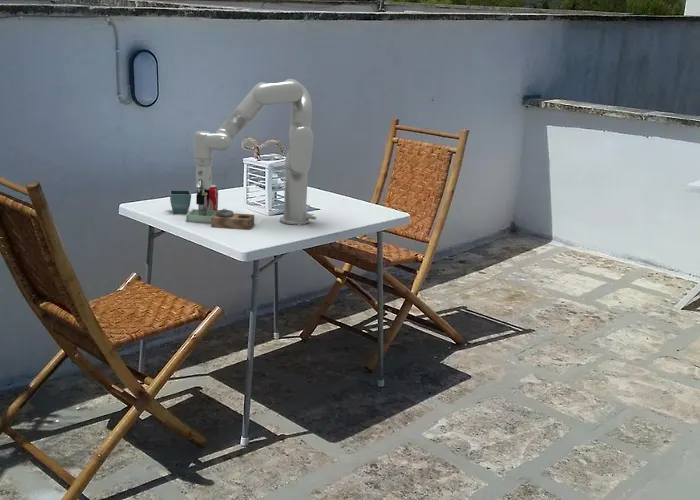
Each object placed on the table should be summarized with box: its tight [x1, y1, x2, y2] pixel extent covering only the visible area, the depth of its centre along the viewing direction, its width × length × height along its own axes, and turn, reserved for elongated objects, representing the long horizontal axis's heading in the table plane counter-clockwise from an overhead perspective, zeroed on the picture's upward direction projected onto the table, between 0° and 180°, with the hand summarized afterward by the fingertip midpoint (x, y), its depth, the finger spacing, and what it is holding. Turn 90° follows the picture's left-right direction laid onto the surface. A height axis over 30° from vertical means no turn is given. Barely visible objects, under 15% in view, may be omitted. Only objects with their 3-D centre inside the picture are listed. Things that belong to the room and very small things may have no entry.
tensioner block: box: [210, 208, 255, 231], centre depth 330 cm, size 16×10×7 cm, turn 87°
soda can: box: [207, 184, 219, 211], centre depth 349 cm, size 7×7×12 cm
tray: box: [185, 208, 216, 225], centre depth 337 cm, size 11×11×3 cm
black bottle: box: [197, 192, 207, 216], centre depth 336 cm, size 4×4×11 cm
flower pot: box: [169, 189, 192, 215], centre depth 346 cm, size 9×9×9 cm
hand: (202, 201), depth 335 cm, fingers open, 9 cm apart
